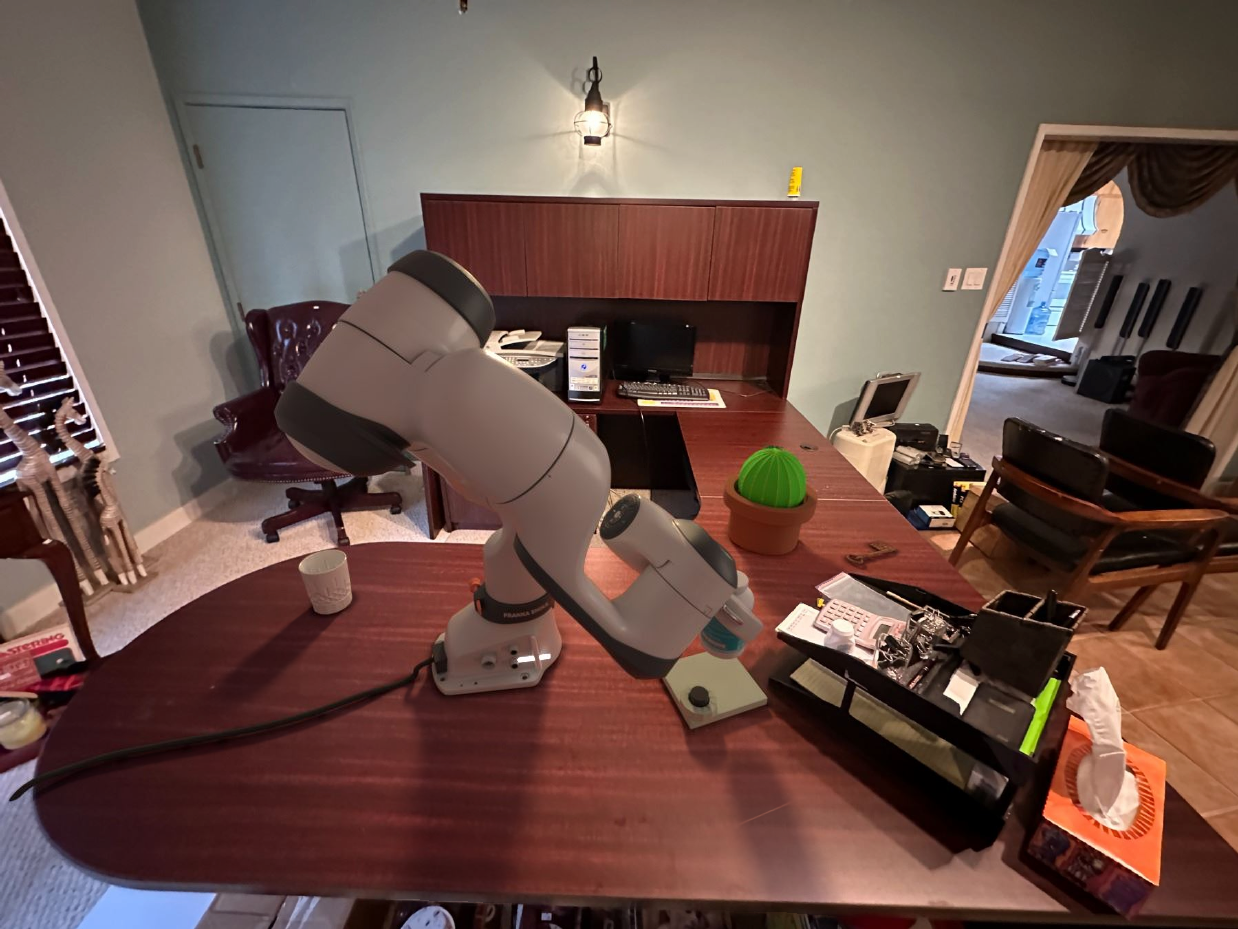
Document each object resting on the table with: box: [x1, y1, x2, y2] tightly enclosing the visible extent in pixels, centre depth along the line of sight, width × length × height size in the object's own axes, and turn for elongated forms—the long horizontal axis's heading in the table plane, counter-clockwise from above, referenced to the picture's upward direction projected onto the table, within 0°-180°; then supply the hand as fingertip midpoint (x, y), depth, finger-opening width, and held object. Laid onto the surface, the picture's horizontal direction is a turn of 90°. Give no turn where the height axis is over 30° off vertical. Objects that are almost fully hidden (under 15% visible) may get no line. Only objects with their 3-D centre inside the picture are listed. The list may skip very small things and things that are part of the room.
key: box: [846, 541, 897, 565], centre depth 121 cm, size 6×1×15 cm
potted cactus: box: [722, 444, 819, 556], centre depth 121 cm, size 22×22×25 cm
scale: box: [661, 651, 768, 730], centre depth 82 cm, size 14×12×3 cm
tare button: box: [690, 686, 709, 708], centre depth 77 cm, size 3×3×2 cm
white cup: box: [298, 549, 353, 615], centre depth 96 cm, size 8×8×10 cm
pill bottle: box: [699, 569, 755, 659], centre depth 79 cm, size 8×7×14 cm
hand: (731, 605), depth 79 cm, fingers closed on pill bottle, 7 cm apart
